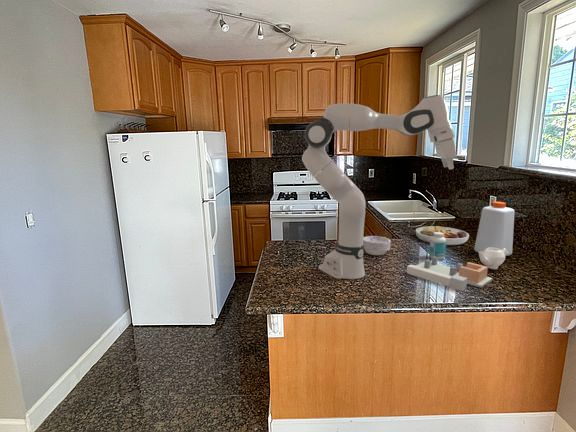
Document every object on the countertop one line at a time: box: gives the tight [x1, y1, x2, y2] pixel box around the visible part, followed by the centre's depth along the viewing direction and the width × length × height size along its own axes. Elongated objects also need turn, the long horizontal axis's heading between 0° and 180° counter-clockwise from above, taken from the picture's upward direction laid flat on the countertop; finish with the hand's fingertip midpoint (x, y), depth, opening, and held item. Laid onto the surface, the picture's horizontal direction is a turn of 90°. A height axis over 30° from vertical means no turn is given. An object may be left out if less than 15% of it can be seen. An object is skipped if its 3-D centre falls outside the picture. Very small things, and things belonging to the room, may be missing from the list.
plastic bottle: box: [473, 201, 515, 257], centre depth 183 cm, size 15×15×28 cm
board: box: [415, 257, 493, 289], centre depth 156 cm, size 30×12×6 cm, turn 41°
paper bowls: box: [363, 235, 391, 256], centre depth 186 cm, size 15×15×8 cm
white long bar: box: [406, 264, 468, 292], centre depth 149 cm, size 25×4×4 cm, turn 41°
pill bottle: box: [428, 232, 447, 261], centre depth 176 cm, size 8×7×14 cm
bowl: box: [415, 225, 470, 246], centre depth 211 cm, size 30×30×8 cm
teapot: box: [478, 247, 508, 270], centre depth 164 cm, size 10×20×9 cm, turn 112°
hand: (448, 167), depth 141 cm, fingers open, 8 cm apart
